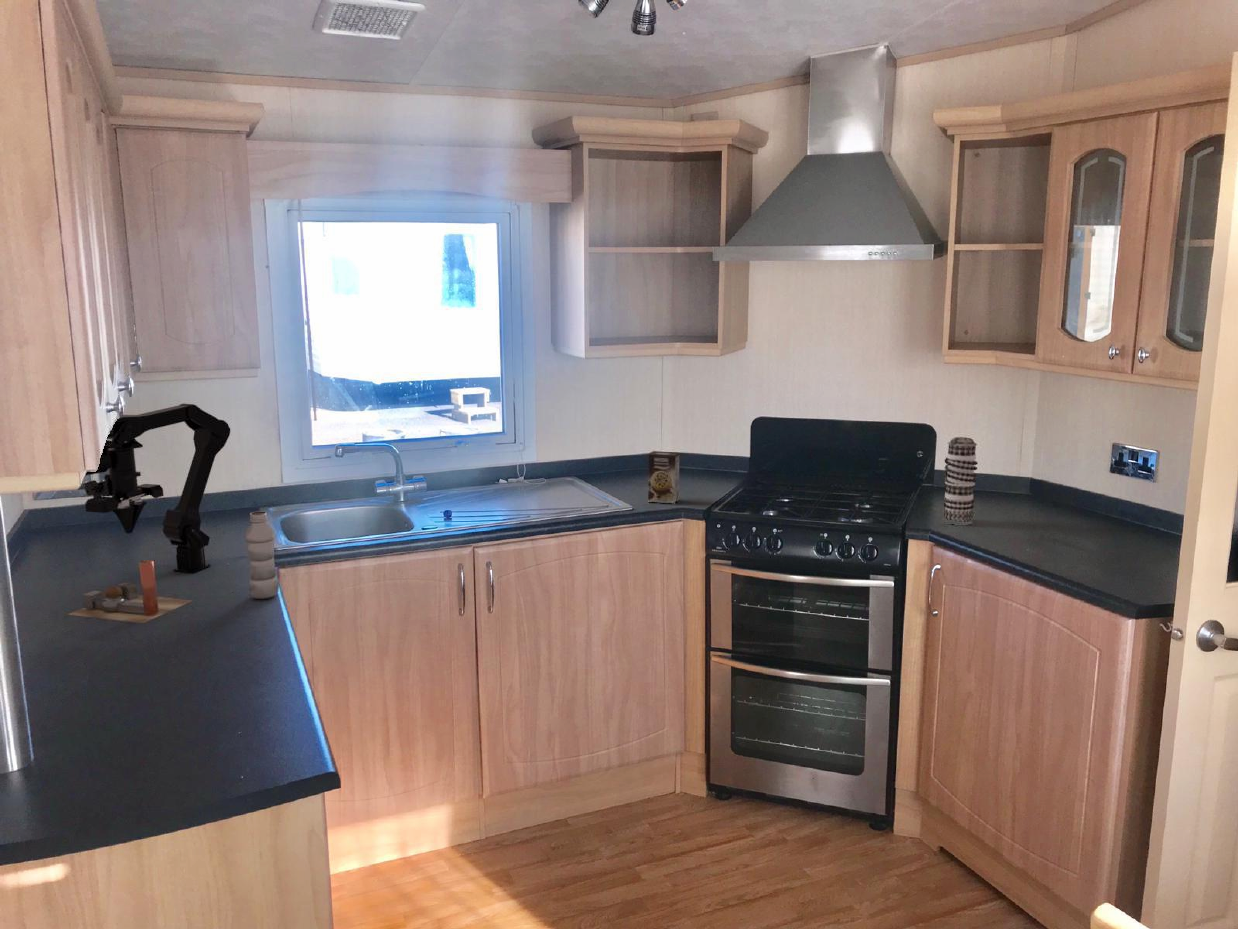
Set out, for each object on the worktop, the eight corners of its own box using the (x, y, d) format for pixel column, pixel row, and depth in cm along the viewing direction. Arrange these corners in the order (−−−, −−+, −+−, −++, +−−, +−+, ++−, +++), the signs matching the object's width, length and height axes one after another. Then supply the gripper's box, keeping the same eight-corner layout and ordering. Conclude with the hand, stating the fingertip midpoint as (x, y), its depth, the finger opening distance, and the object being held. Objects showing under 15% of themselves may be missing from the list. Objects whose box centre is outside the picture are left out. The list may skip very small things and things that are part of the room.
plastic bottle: (248, 603, 223) (241, 517, 220) (251, 594, 230) (244, 510, 226) (278, 600, 225) (272, 515, 221) (280, 591, 232) (274, 508, 228)
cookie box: (647, 503, 317) (647, 453, 314) (652, 498, 323) (652, 450, 320) (675, 504, 314) (675, 455, 311) (679, 500, 320) (679, 451, 317)
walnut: (114, 598, 224) (112, 583, 223) (127, 599, 223) (125, 584, 222) (101, 603, 220) (100, 588, 220) (114, 604, 219) (113, 589, 219)
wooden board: (121, 597, 228) (119, 580, 227) (193, 605, 222) (191, 587, 221) (68, 619, 214) (66, 601, 213) (143, 628, 208) (141, 609, 207)
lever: (81, 609, 216) (75, 558, 213) (97, 602, 220) (91, 553, 218) (149, 616, 210) (144, 565, 208) (164, 610, 215) (159, 559, 212)
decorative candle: (938, 524, 288) (943, 439, 283) (944, 517, 296) (948, 435, 291) (971, 527, 284) (976, 442, 279) (976, 520, 292) (981, 437, 287)
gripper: (124, 460, 242) (131, 521, 245) (62, 474, 225) (70, 540, 228) (162, 462, 239) (168, 524, 242) (101, 477, 222) (109, 544, 225)
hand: (129, 533), depth 234 cm, fingers closed
